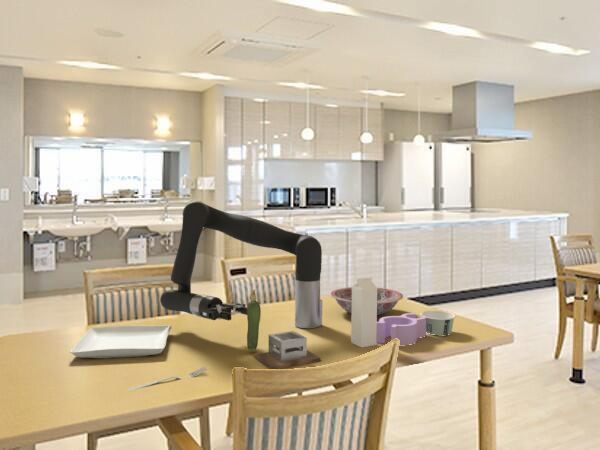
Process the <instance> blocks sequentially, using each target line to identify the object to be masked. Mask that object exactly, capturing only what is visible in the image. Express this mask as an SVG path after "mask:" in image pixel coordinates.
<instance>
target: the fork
mask: <svg viewBox="0 0 600 450" xmlns="http://www.w3.org/2000/svg"><path fill="white" fill-rule="evenodd" d="M207 370H208V368H207V367H205V366H202V367H200V368H197V369H196V370H193V371H191V372H190V373H188V374H186V376H188V377H189V378H191V379H192V378H195V377H198V375H200V374H202V373H205V371H207ZM169 379H179V380H183V379H184V378H183V377H181V376H168V377H166V378H165V377H164V378H162V379H160V380H159V379H158V380H156V381H153V382H148V383H145V384H141V385H137V386H133V387H130V388H129V387H128V389H127V391H133V390H139V389H142V388H146V387H147V388H148V387H150V386H153V385H155V384H158V383H162V382H163V381H166V380H169Z"/></svg>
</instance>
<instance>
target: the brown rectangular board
mask: <svg viewBox="0 0 600 450" xmlns="http://www.w3.org/2000/svg"><path fill="white" fill-rule="evenodd" d="M300 347H301V346H300ZM286 353H287V352H286ZM254 358H255V360H257V361H259V362H260V363H261V364H263V365H264V366H266V367H267V368H268V369H270V370H271V369H276V370H280V369H279V368H281V369H285V368H286V369H287V368H289V367H296V366H300V365H305V364H310V363H315V362H316V363H317V362H321V359H322V358H321V357H320V356H318V355H317V354H315V353H314V352H311V351H310V350H308V349H307V358H303V359H298V360H292V361H287V362H282V363H281V362H280V361H278V360H277V359H275V358H274V357H272V356H271V355H269V351H266V352H261V353H255V354H254Z"/></svg>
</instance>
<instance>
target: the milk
mask: <svg viewBox="0 0 600 450" xmlns="http://www.w3.org/2000/svg"><path fill="white" fill-rule="evenodd" d="M351 287H352V313H351V316H350V317H351V321H350V322H351V323H350V325H351V328H350V329H351V331H350V336H351V337H350V343H351V344H352V345H353V344H354V345H355V346H358V347H359V348H367V347H373V346H376V345H377V343H376V331H377V322H378V321H377V320H378V315H377V288H378V287H377V286H376V284H374V282H373V277H372V276H369V277H362V278H361V277H360V278H359V277H358V278H357V279H356V283H355V284H354V285H352V286H351Z"/></svg>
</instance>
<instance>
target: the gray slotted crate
mask: <svg viewBox="0 0 600 450" xmlns="http://www.w3.org/2000/svg"><path fill="white" fill-rule="evenodd" d="M307 339H308V338H307V337H306V336H304V335H302V334H300V333H298V332H296V331H294V330H290V331H284V332H283V331H282V332H278V333H272V334H268V352H269V355H271V356H272V357H274V358H275V359H277V360H278V361H280V362H281V363H282V362H287V361H292V360H298V359H303V358H307V350H308V349H307V346H308V345H307V344H308V343H307ZM300 346H301V347H300ZM286 352H287V353H286Z"/></svg>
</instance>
